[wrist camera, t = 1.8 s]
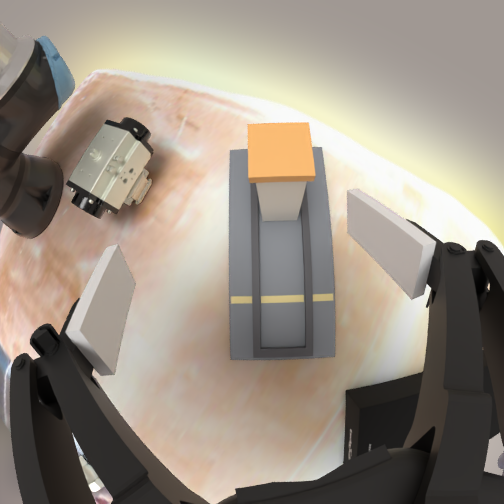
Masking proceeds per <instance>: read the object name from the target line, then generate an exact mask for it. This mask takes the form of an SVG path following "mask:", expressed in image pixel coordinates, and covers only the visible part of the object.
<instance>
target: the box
mask: <svg viewBox="0 0 504 504" xmlns="http://www.w3.org/2000/svg"><path fill="white" fill-rule="evenodd" d="M422 377H423V372H421V373H418V374H414V375H411V376H407V377H403V378H400V379H396V380H392V381H388V382H384V383H379V384H375V385H370V386H366V387H361V388H356V389H350V390H346V416H345V444H344V461H343V464H344V463H346V462H347V461H349V460H350V459H352V458H355V457H357V456H359V455H362V454H364V453H367V452H369V451H371V450H373V449H376V448H378V447H380V446H382V445H384V444H385V446H386V448H387V449H393V448H403V446H404V443H405V440H406V438H407V436H408V434H409V432H410V430H411V428H412V425H413V422H414V418H415V413H416V409H417V404H418V399H419V394H420V389H421V383H422ZM483 390H484V393H486V394H490V396H491V397H492V416H491V427H490V436H489V439H491V438H492V437H494V436H495V435H497V434H498V433H499V432H500V429H499V423H498V416H497V409H496V403H495V397H494V392H493V387H492V382H491V377H490V373H489V369H488V365H487V361H486V357H485V353H484V350H483Z"/></svg>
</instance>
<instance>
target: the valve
mask: <svg viewBox="0 0 504 504" xmlns="http://www.w3.org/2000/svg"><path fill="white" fill-rule="evenodd" d="M79 459H80V462H81V465H82V468H83V471H84V474H85V477H86V480H87V482H88V485H89V488H90V489H91V491H93V492H96V491H98V490H100V489H101V488H102V487H104V484H103V483H102V481H101V480H100V478H99V477H98V475H97V474H96V472H95V471H94V469H93V468H92V466H91V465H89V464H87V462H86V461H85V460H84V458H83V457H82V456H79Z"/></svg>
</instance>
